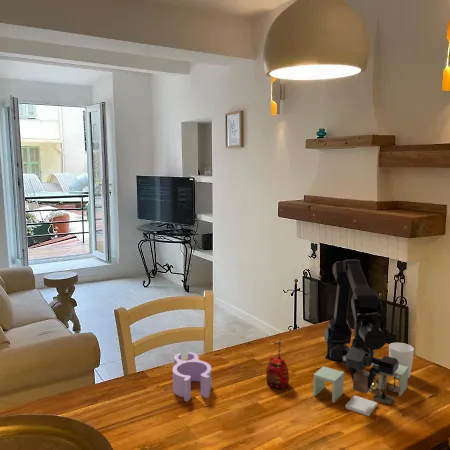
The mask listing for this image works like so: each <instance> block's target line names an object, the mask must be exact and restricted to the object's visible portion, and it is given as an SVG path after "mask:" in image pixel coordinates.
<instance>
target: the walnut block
mask: <svg viewBox="0 0 450 450" xmlns="http://www.w3.org/2000/svg"><path fill="white" fill-rule="evenodd" d="M369 374H370V373H369V370H364V369H362V370H357V371H356V372H355V373H354V376H353V380H352V391H357V392H360V393H361V394H362V393H363V394H368V393H369V390H370V389H371V388H370V389H369V388H368V381H369Z"/></svg>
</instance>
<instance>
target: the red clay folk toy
mask: <svg viewBox="0 0 450 450" xmlns="http://www.w3.org/2000/svg"><path fill="white" fill-rule="evenodd" d="M281 341H282V338H281V337H279V340H278V342H277V341H276V340H275V341H274V342H273V344H274V345H278V353H277V357H273V356H272V357H270V359H269V363H268V365H267V366H266V371H265V373H266V375H265V376H266V377H265V379H266V383H267V385H268V386H269V387H272V388H276V389H279V390H280V389H281V390H283V389H286V387H287V386H288V384H289V383H290V378H289V377H290V376H289V375H290V374H289V373H290V372H289V368H288V366H287V363H286V362H285V360H284V359H282V357H281V352H282V350H281V343H282V342H281Z"/></svg>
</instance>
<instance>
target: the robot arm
mask: <svg viewBox="0 0 450 450" xmlns="http://www.w3.org/2000/svg"><path fill="white" fill-rule="evenodd" d="M332 274H333V277H334V279H335V282H336V283H337V285H336V286H337V287H336V294H335V301H334V302H335V303H334V313H333V316H332V317H331V318H330V320H328V324H327V327H326V329H325V331H324V341H325V343H326V344H327V349H326V352H327V353H326V354H325V357H324V358H325V359H329V360H332V361H334V362H335V361H336V362H340V363H342V364H343V365H345V366H346V367H347V368H348V372H349V373H350V376H351V380H352V381H353V376H354V373H355V372H356V371H357V370H364V368H366V367H369V369H368V371H369V373H370V374H369V381H368V388H369V389H370V388H371V386H372V383H373V382H374V379H375V380H376V378H375V377H377V376H378V375H377V373H380V372H382V373H386V374H390V375H393V374H394V373H395V371H396V370H397V369H398V366H399V362H398V360H397V359H396V358H392V357H389V355H388V356H387V355H383V357H382V358H380V357H374V356H375V355H376V351H377V350H381V349H382V348H384V346H385V344H386V342H387V337H386V334H385V333H384V331H382V329H381V328H380V324H379V322H383V323H384V322H385V321H384V316H385V312H384V308H383V307H384V306H383V303H382V301H381V299H380V297H379V295H378V294H377V292H376V290H375V289H374V288H372V287H370V286H369V285H368V281H367V280H366V277H365V275H364V272H363V270H362V262H361V260H359V259H345V260H343V261H342V260H338V261H336V262H334V264H332ZM351 291H352V297H351V299H350V296H351ZM349 302H350V305H351V309H352V310H351V311H352V315H353V319H354V333H353V332H352V329H351V327H350V324H349V322H348V312H349V306H350V305H349ZM352 335H354V336H353V339H352ZM351 339H352V340H351ZM351 341H352V342H351ZM347 344H349V345H350V344H351V347H350V346H349V345H347Z"/></svg>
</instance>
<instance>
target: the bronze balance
mask: <svg viewBox="0 0 450 450" xmlns="http://www.w3.org/2000/svg"><path fill="white" fill-rule="evenodd" d="M379 375H383V381H382V389H381V390H379V389H378V385H379V382H377V381H376V377H377V376H379ZM387 376H388V377H393V376H394V377H393V378H394V379H393V385H392V384H391V385H389V386H388V390H389V392H394V393H399V391H400V388H399V385H396V381H397V378H396V376H397V373H394V374H393V375H390V374H386V373H382V372H380V373H377V375H376V377H375V379H374V381H373V383H372V386H371V389H370V390H369V391H368V393H371V394H373V395H374V396H373V401H375V402H378V403H379V402H380V403H382V404H386V405H389V406H391V404H393V401H394V400H395V397H394V396H392V395H389V394H387V383H388V381H387Z"/></svg>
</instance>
